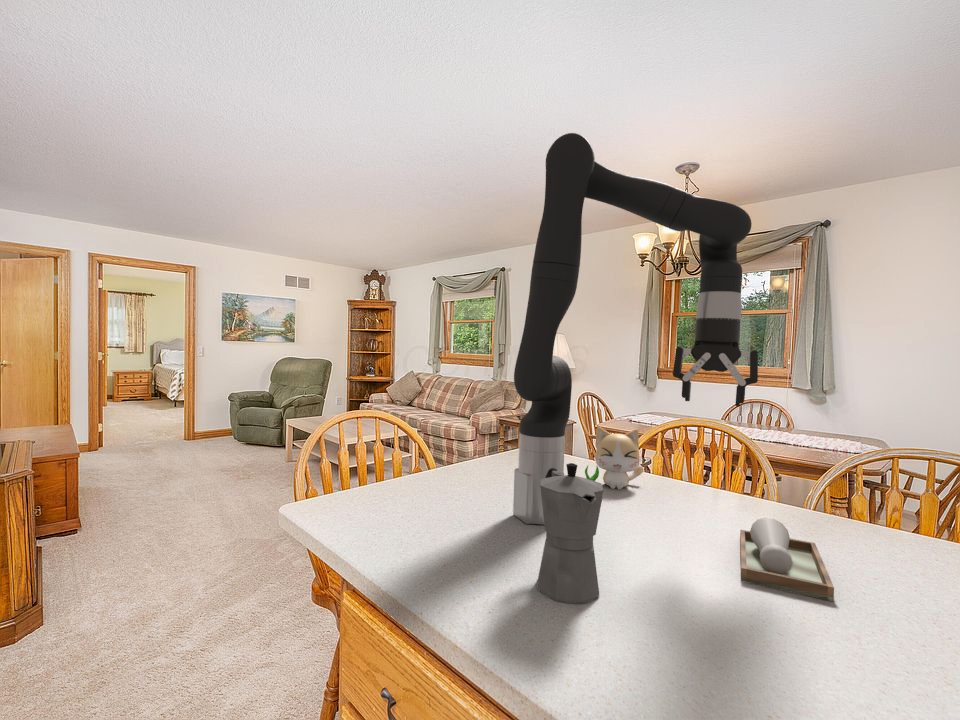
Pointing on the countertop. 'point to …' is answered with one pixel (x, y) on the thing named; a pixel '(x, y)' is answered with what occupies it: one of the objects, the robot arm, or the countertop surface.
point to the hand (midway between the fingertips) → (712, 403)
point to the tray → (801, 579)
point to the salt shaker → (772, 545)
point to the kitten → (617, 457)
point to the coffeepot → (569, 536)
